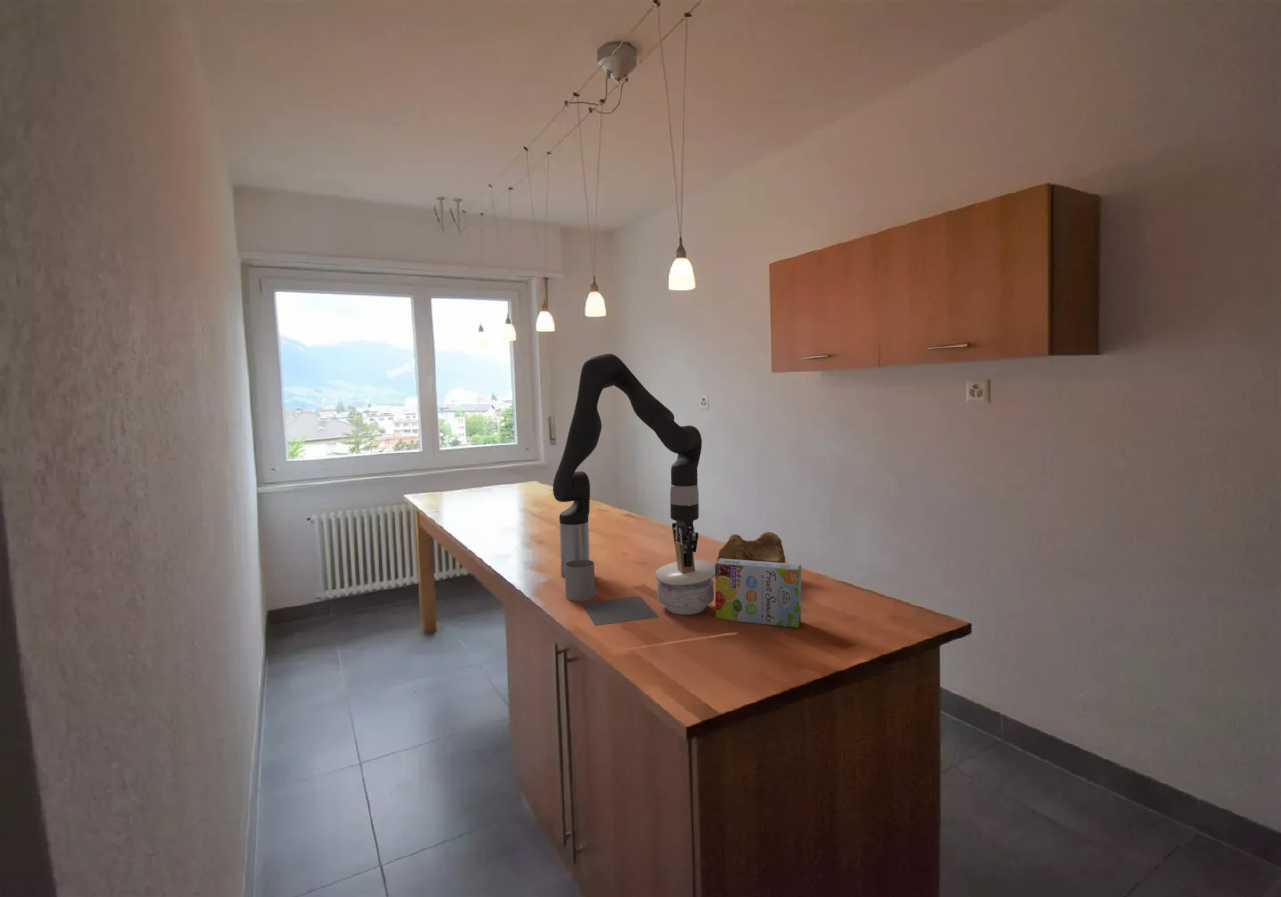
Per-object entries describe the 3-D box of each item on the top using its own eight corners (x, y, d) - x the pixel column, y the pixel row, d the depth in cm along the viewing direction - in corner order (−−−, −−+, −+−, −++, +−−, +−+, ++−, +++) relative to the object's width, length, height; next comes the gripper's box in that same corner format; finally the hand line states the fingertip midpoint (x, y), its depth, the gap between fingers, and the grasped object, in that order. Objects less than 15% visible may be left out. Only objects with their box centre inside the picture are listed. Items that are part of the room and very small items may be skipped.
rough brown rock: (745, 602, 173) (750, 551, 170) (708, 582, 187) (712, 534, 184) (803, 589, 185) (808, 541, 183) (765, 571, 199) (769, 526, 197)
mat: (581, 604, 171) (581, 603, 171) (639, 597, 176) (639, 595, 176) (595, 627, 155) (595, 625, 155) (659, 618, 160) (659, 616, 160)
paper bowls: (649, 615, 162) (648, 586, 161) (668, 597, 176) (668, 570, 175) (705, 623, 156) (704, 593, 155) (720, 603, 170) (720, 575, 169)
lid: (647, 571, 171) (643, 540, 170) (703, 558, 176) (700, 528, 174) (667, 590, 155) (663, 556, 154) (729, 575, 159) (725, 543, 158)
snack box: (801, 621, 157) (801, 563, 155) (799, 629, 151) (799, 569, 150) (719, 612, 164) (719, 556, 162) (714, 619, 159) (714, 562, 157)
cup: (590, 603, 172) (589, 568, 171) (561, 601, 173) (560, 567, 172) (598, 593, 180) (597, 560, 179) (571, 592, 182) (570, 558, 181)
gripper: (662, 497, 169) (663, 559, 170) (680, 507, 155) (681, 573, 157) (687, 495, 171) (688, 556, 173) (708, 505, 157) (708, 570, 159)
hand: (685, 564), depth 165 cm, fingers closed on lid, 3 cm apart
